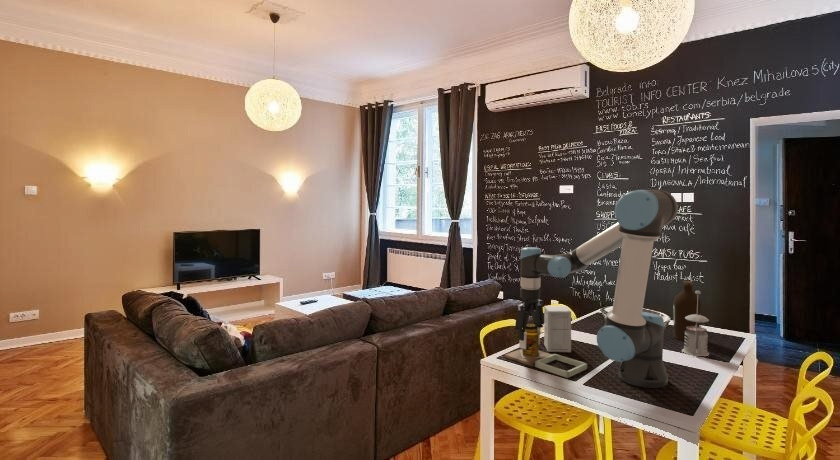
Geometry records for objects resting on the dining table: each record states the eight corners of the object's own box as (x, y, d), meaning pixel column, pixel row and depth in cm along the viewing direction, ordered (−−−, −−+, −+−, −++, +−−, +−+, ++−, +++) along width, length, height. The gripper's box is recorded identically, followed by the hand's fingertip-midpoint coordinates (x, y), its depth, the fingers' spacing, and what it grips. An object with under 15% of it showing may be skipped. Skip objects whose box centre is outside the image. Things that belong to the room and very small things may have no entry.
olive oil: (703, 338, 199) (705, 281, 197) (695, 344, 192) (697, 285, 190) (676, 333, 207) (679, 278, 205) (668, 338, 200) (670, 281, 198)
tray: (587, 368, 166) (587, 363, 166) (567, 378, 158) (567, 372, 158) (554, 358, 177) (555, 353, 177) (534, 366, 169) (534, 361, 169)
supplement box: (566, 345, 193) (567, 305, 191) (571, 352, 183) (572, 311, 182) (543, 344, 194) (543, 305, 192) (547, 352, 184) (547, 310, 183)
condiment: (522, 358, 175) (523, 327, 174) (518, 350, 183) (519, 321, 182) (542, 358, 174) (542, 327, 174) (537, 350, 183) (537, 321, 182)
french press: (708, 350, 184) (710, 289, 182) (712, 360, 174) (715, 295, 172) (680, 347, 189) (682, 287, 187) (682, 356, 178) (685, 292, 176)
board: (554, 357, 178) (554, 355, 178) (532, 366, 169) (532, 364, 169) (527, 349, 188) (527, 346, 188) (504, 357, 179) (504, 354, 179)
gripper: (538, 282, 186) (537, 337, 187) (505, 289, 173) (504, 349, 174) (554, 285, 180) (553, 342, 182) (521, 293, 167) (520, 354, 169)
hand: (529, 345), depth 178 cm, fingers open, 8 cm apart
